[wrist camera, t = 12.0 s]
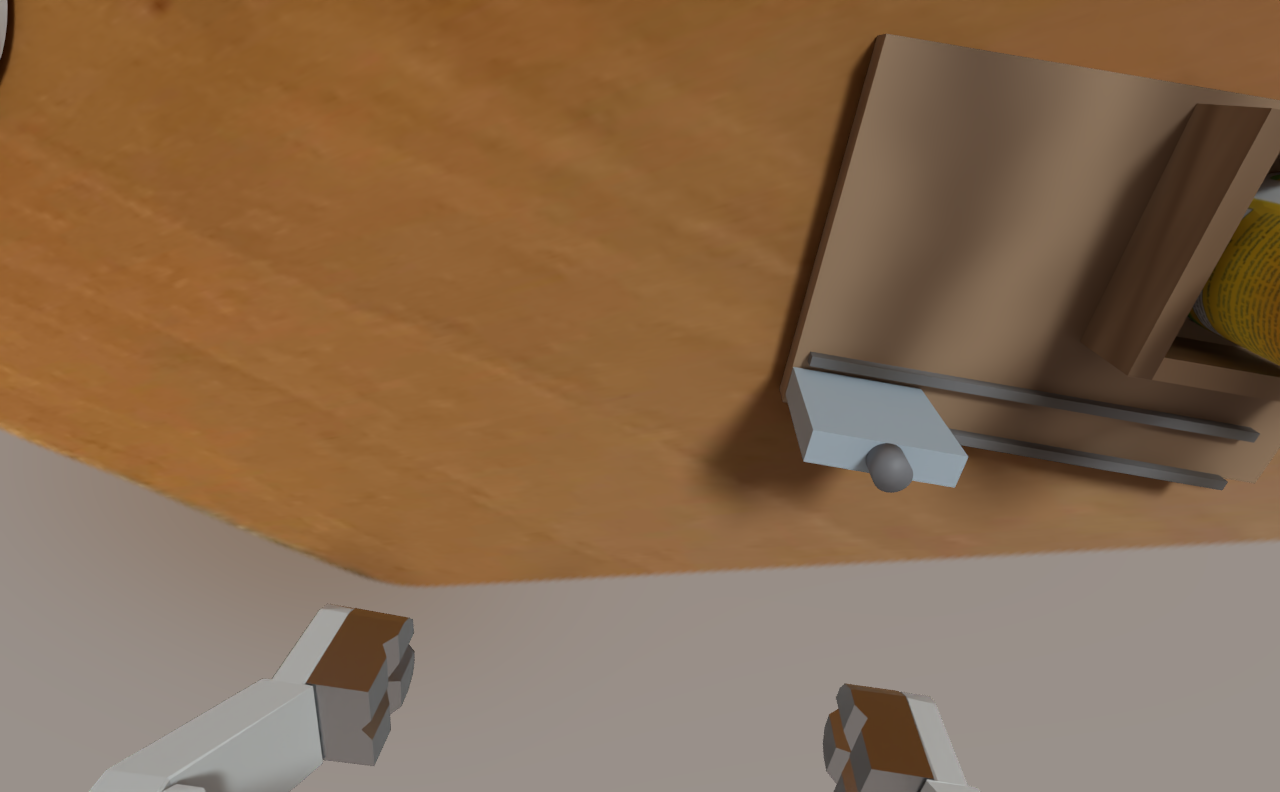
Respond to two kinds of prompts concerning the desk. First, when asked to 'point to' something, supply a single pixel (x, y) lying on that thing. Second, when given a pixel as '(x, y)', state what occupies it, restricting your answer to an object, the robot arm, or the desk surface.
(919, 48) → the board
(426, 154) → the desk surface
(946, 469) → the cover panel
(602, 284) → the desk surface
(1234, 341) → the supplement bottle
